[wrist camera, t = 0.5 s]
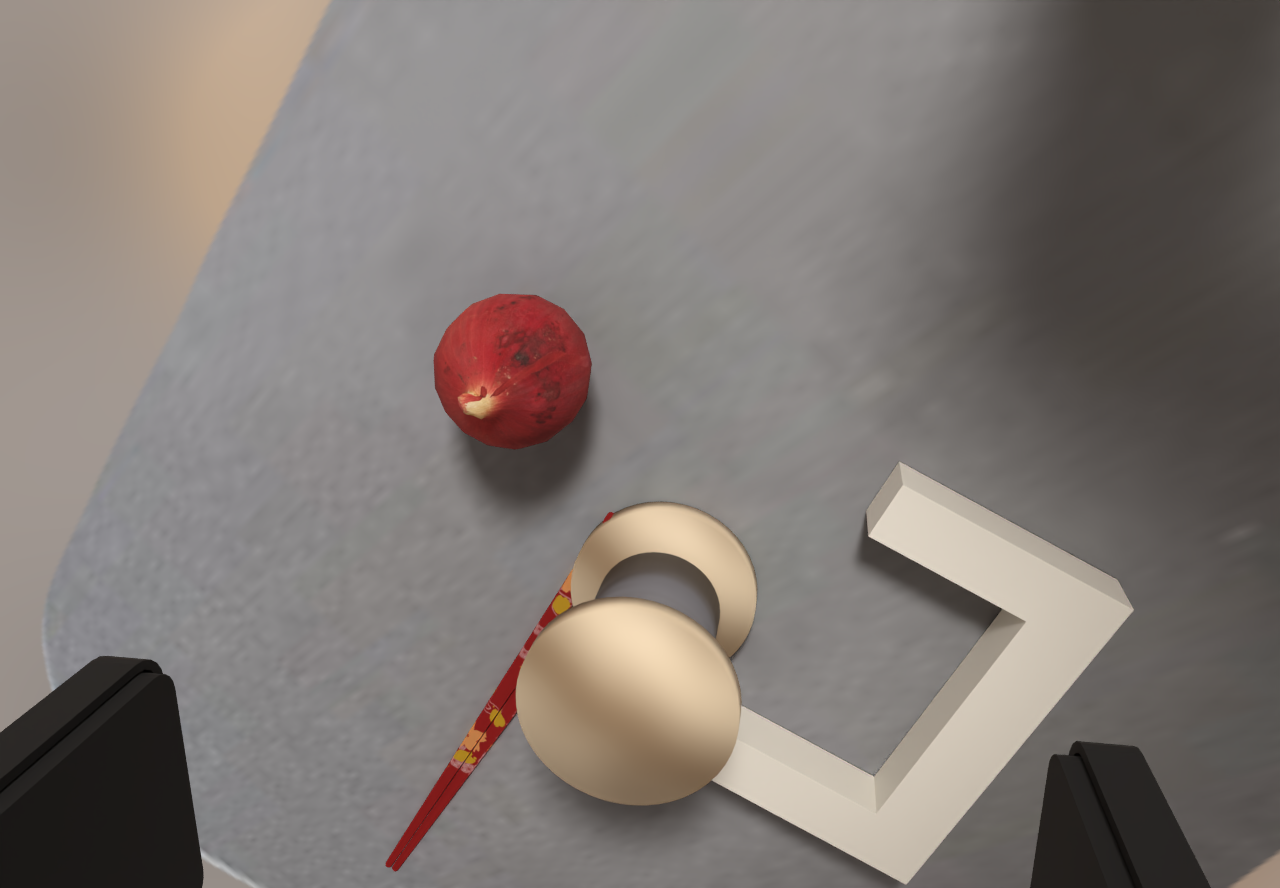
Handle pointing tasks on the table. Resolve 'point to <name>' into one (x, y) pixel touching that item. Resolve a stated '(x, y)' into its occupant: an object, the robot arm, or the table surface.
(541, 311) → the onion
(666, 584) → the spool
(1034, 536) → the notch board
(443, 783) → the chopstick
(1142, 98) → the table surface
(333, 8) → the table surface
